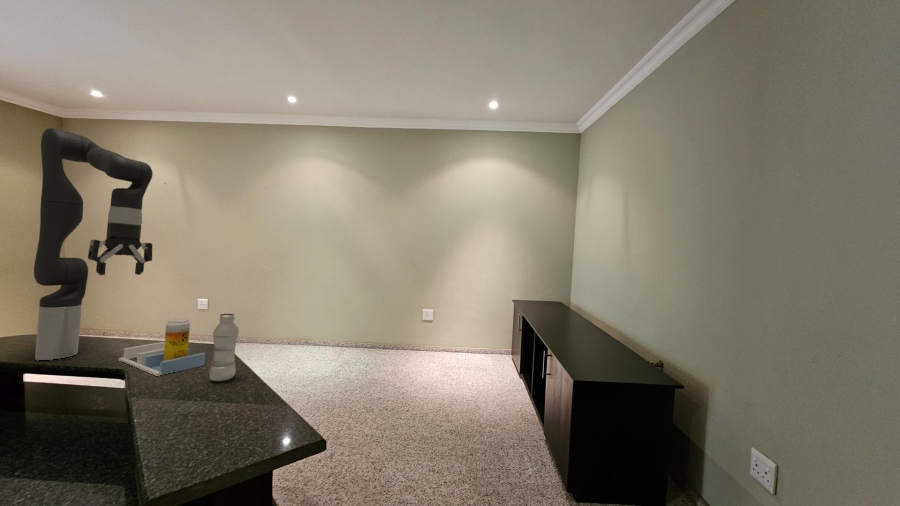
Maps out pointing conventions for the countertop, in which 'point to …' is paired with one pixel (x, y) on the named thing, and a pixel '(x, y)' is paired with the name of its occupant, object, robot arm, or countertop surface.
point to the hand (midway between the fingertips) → (120, 274)
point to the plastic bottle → (224, 349)
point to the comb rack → (160, 359)
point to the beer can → (176, 339)
